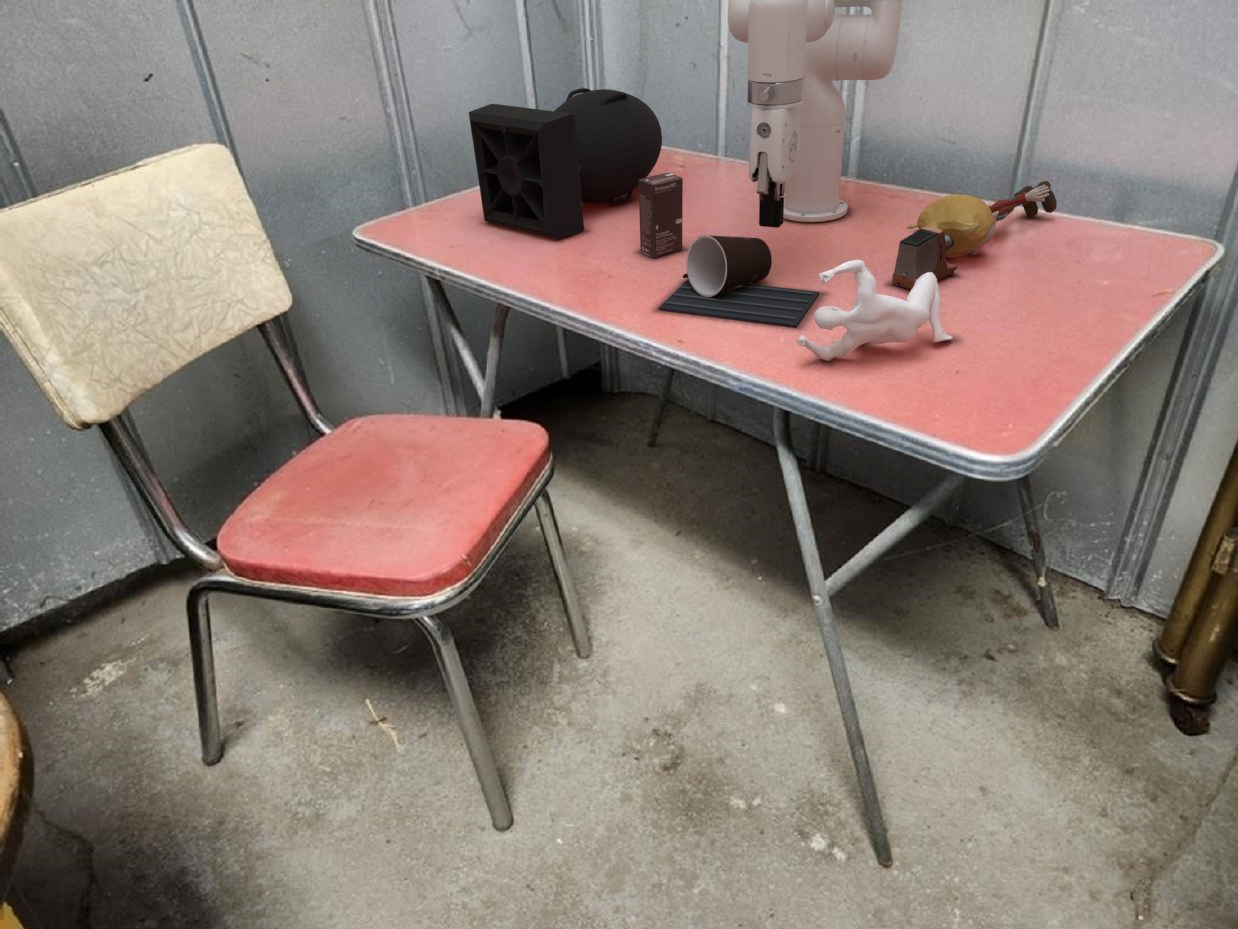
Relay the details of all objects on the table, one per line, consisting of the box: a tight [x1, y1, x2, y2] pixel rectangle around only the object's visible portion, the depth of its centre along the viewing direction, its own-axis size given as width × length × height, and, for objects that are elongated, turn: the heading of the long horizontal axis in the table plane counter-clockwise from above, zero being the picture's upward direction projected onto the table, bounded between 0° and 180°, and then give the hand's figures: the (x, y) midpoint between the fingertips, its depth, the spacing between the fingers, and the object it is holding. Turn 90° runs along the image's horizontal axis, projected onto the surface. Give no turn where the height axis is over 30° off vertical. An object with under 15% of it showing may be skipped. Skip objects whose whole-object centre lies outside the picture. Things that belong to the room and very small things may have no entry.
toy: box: [906, 180, 1058, 258], centre depth 137 cm, size 22×10×30 cm
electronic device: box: [891, 226, 958, 291], centre depth 125 cm, size 4×10×8 cm, turn 127°
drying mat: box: [658, 278, 820, 328], centre depth 125 cm, size 12×20×1 cm, turn 65°
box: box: [638, 172, 684, 258], centre depth 141 cm, size 6×4×12 cm
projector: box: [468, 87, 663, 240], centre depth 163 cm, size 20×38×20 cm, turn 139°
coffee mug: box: [682, 234, 773, 297], centre depth 128 cm, size 12×9×10 cm
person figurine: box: [796, 259, 954, 362], centre depth 106 cm, size 13×13×18 cm
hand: (771, 225), depth 128 cm, fingers closed
